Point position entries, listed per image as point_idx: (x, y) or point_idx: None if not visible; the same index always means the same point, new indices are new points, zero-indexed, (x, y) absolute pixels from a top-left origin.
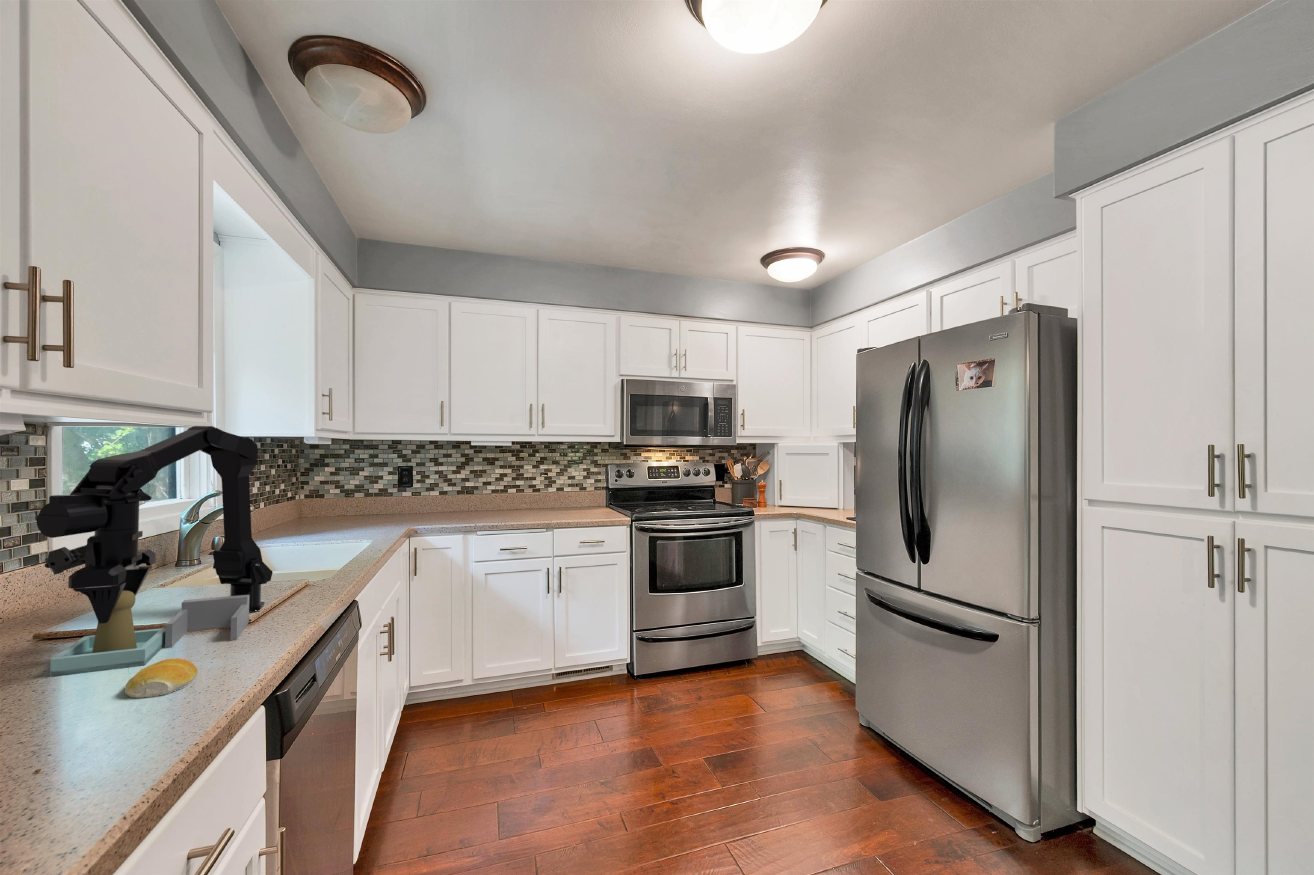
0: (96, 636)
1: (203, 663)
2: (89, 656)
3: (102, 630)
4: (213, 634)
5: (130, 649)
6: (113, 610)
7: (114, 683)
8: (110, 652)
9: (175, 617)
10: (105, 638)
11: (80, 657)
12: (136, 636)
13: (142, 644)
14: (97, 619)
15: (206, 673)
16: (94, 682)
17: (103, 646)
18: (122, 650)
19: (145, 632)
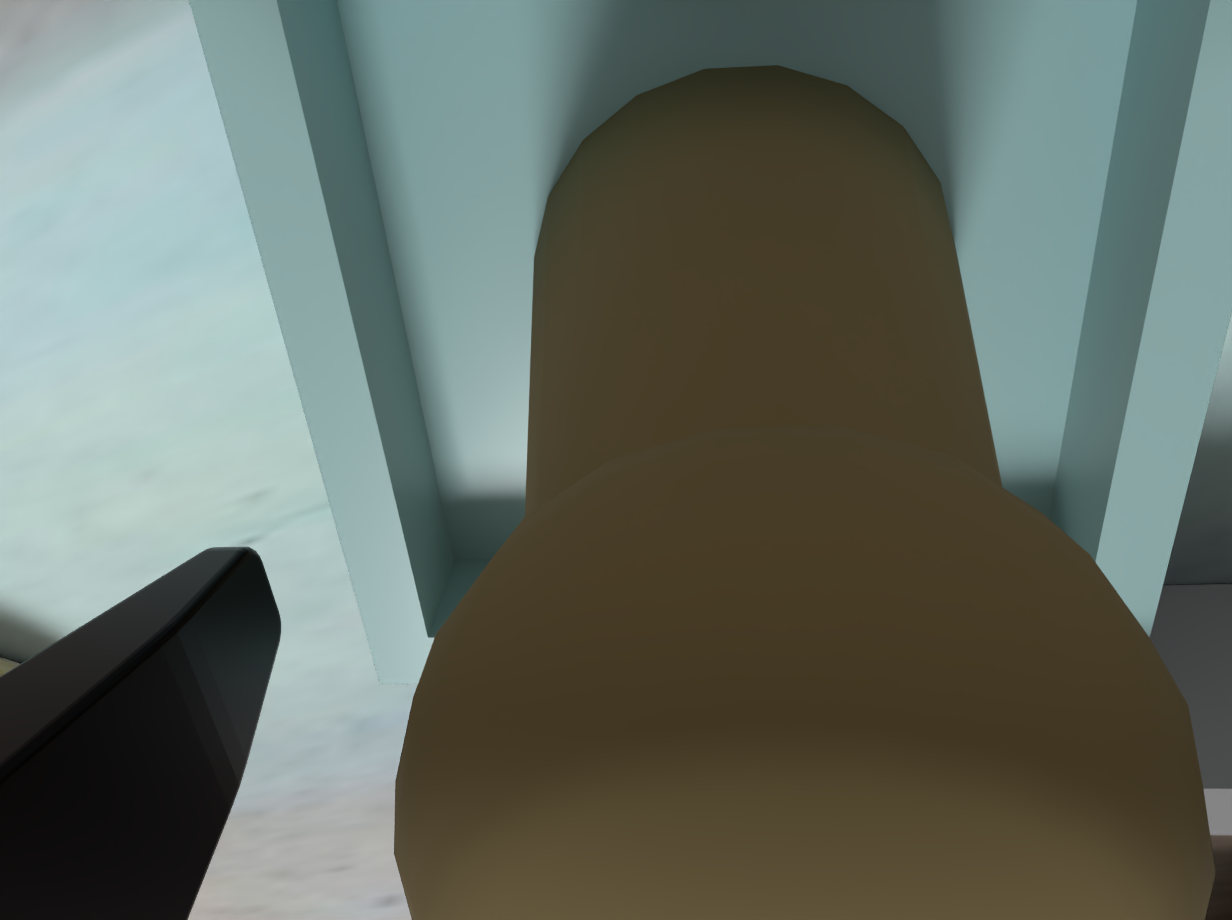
0: (600, 252)
1: (374, 870)
2: (269, 266)
3: (542, 384)
4: None
5: (396, 580)
6: (206, 855)
7: (34, 511)
8: (331, 443)
9: (1221, 806)
10: (531, 373)
11: (245, 181)
12: (1100, 405)
13: None
14: (154, 582)
15: None
16: (59, 364)
17: (535, 311)
18: (380, 524)
19: (1101, 506)
